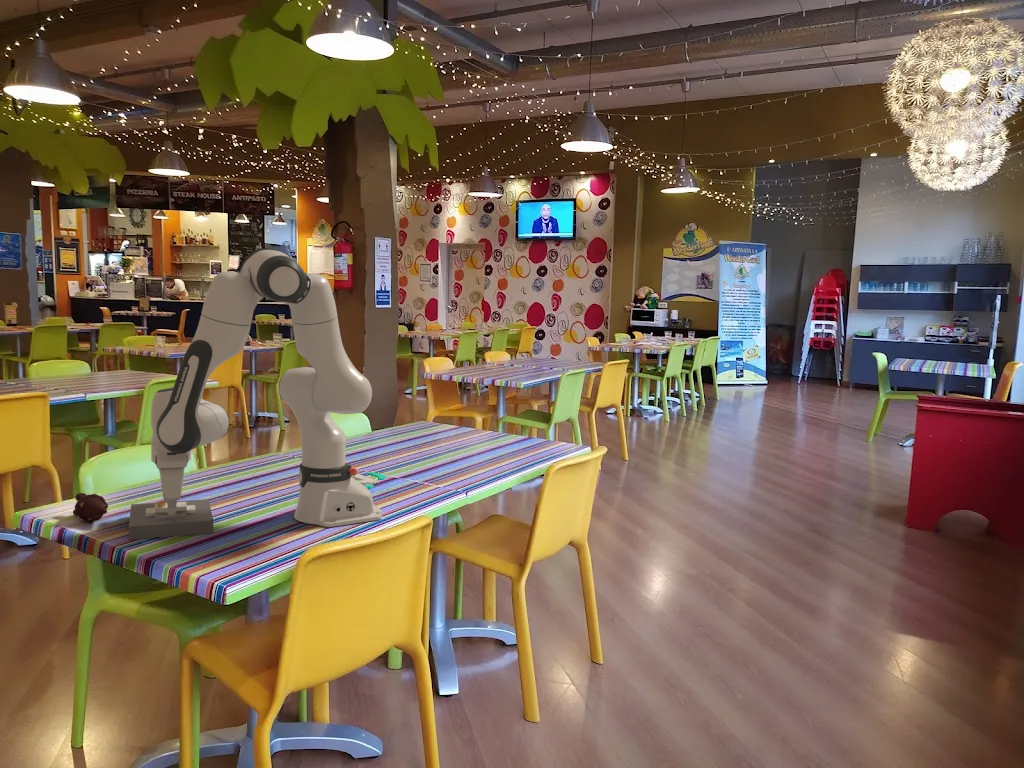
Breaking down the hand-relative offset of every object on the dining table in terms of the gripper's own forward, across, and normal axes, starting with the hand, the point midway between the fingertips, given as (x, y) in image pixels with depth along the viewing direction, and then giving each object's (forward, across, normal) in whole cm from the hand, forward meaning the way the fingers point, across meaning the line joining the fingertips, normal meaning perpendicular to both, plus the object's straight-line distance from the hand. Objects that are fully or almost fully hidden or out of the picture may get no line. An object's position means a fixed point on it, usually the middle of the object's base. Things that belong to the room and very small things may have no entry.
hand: (171, 508), depth 182 cm
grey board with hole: (+4, 0, 0) cm, 4 cm away
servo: (+4, 0, 0) cm, 4 cm away
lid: (+5, -29, +51) cm, 59 cm away
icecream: (+4, -8, -18) cm, 20 cm away
